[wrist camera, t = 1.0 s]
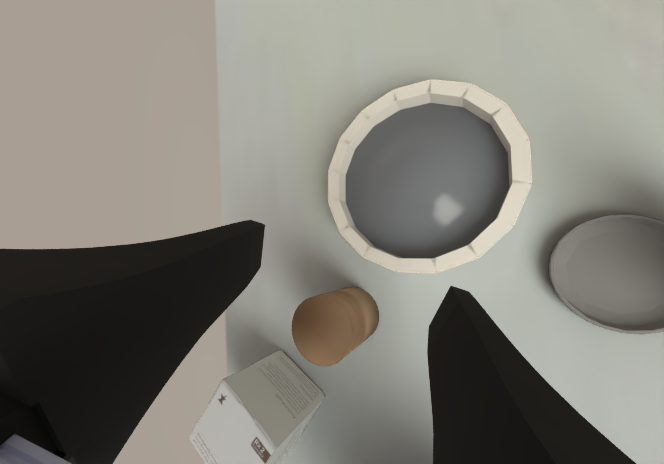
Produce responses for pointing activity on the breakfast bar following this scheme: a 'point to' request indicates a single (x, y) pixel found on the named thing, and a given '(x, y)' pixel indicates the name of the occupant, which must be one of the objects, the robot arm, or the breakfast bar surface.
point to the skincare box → (257, 413)
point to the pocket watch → (613, 272)
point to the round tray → (429, 176)
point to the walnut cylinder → (334, 324)
